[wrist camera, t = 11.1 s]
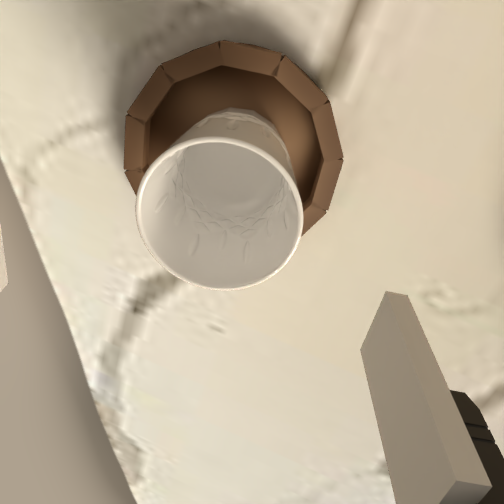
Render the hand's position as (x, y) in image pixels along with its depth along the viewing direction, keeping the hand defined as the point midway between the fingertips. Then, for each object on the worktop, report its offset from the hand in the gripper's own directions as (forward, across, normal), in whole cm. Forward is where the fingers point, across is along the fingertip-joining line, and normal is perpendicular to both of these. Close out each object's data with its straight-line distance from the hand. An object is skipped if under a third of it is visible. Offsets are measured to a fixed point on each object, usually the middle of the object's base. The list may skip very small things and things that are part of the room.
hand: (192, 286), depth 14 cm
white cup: (+16, 0, 0) cm, 16 cm away
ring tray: (+17, 0, 0) cm, 17 cm away
